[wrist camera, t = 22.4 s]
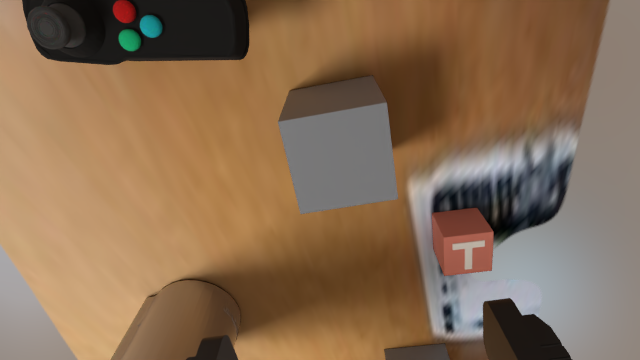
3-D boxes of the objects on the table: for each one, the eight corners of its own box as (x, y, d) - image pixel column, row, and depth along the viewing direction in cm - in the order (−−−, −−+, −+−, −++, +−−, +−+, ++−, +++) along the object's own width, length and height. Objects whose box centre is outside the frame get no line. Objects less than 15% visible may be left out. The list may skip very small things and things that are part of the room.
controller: (89, -18, 28) (-24, -21, 19) (263, -15, 28) (233, -16, 19) (103, 46, 30) (6, 70, 21) (266, 49, 30) (239, 76, 21)
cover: (306, 165, 34) (300, 214, 27) (289, 90, 31) (277, 121, 24) (382, 153, 33) (398, 199, 26) (372, 75, 30) (386, 102, 23)
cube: (433, 248, 37) (444, 276, 34) (431, 212, 36) (444, 238, 32) (475, 243, 37) (492, 271, 33) (476, 207, 35) (494, 232, 32)
